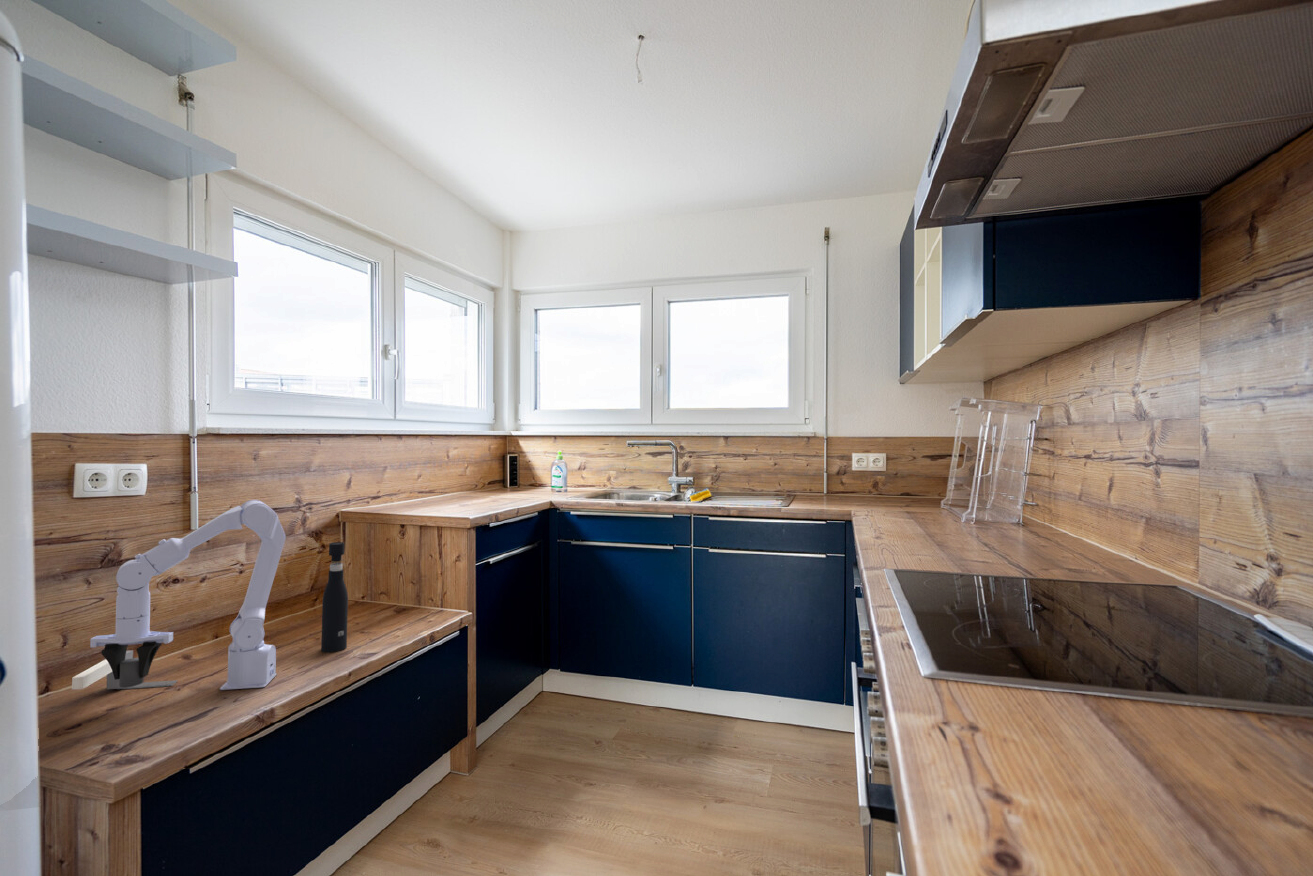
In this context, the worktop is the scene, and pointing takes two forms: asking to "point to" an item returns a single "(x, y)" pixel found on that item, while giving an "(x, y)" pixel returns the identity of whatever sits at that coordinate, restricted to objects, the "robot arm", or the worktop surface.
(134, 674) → the plug
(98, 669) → the tie bar
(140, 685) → the rail
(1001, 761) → the worktop surface
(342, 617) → the black water bottle
